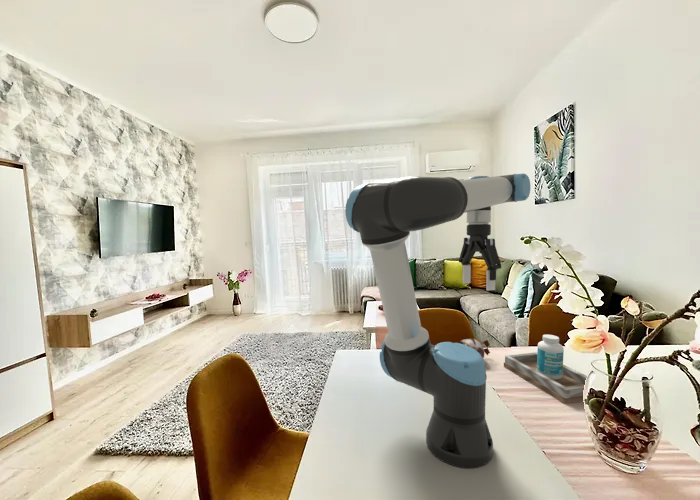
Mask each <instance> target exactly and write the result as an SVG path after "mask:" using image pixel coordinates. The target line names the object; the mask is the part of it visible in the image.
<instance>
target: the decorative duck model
mask: <svg viewBox="0 0 700 500" xmlns="http://www.w3.org/2000/svg"><path fill="white" fill-rule="evenodd" d="M459 343H460V344H463V345H466V346H469V347H471V348H473V349H474V350H476V351H477V352H479V353H480V354H481V356H482V357H483V359H484V358H485V355H487V356H489V354H490V353H491V352H490V350H489V347H490V345H491V343H489V341H488V339H486V340H484V341H482V342H480V341H479V340H477V338H476V339H475V338H465V339H461V340H459ZM483 345H484V346H485V347H486V348H484V346H483Z"/></svg>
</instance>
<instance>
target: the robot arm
mask: <svg viewBox="0 0 700 500" xmlns="http://www.w3.org/2000/svg"><path fill="white" fill-rule="evenodd" d="M530 194H531V179H530V177H529V176H528V175H527V174H526V173H513V174H506V175H499V176H497V175H496V176H488V175H476V176H471V177H468V178H467V179H463V178H461V179H458V178H455V177H451V176H445V177H444V176H443V177H441V176H435V177H432V176H404V177H398V178H392V179H385V180H377V181H376V180H375V181H369V182H366V183H363V184H360V185H357V186H356V187H355V188H354V189H352V191H351V192H350V194H349V197H348V198H347V200H346V203H345V210H344V213H345V219H346V221H347V225H348V226H349V228H351V229H352V230H353V231H354V232H357V233H359V235H360V240H361V244H362V245H363V246H365V247H366V248H368V249H369V251H370V255H371V259H372V265H373V269H374V273H375V279H376V281H377V286H378V290H379V291H378V292H379V296H380V301H381V305H382V306H381V307H382V310H383V313H384V319H385V323H386V328H387V333H386V334H385V336H384V340H383V342H382V343H381V346H380V350H381V351H379V363H380V366H381V368H382V371H384V373H385V374H386V375H387V376H388V377H390V378H392V379H393V380H395V381H396V382H399V383H403V384H404V385H406V386H409V387H410V388H411V387H412V388H414V389H416V390H419V391H421V392H423V393H426V394H428V395H430V396H432V397H433V411H432V413H431V416H430V419H429V422H428V425H427V427H426V433H425V441H426V442H425V443H426V445H427V449H429V451H430V452H431V454H433V455H434V456H435V457H436V458H438V459H439V460H441V461H442V462H445V463H447V464H448V465H452V466H453V467H459V468H464V467H465V468H466V469H467V468H468V469H470V468H469V467H474V468H479V467H478V466H480V467H482V465H483V466H485V465H486V464H488V463H489V462H490V461H491V460H492V459H493V456H494V455H493V454H494V442H493V438H492V435H491V433H490V430H489V429H490V428H489V425H488V423H487V420H486V397H487V395H486V393H487V391H486V390H487V387H486V386H487V378H488V377H487V370H486V368H487V367H486V361H485V359H484V358H483V357H482V356H481V354H480V353H479V352H477V351H476V350H474V349H473V348H471V347H469V346H466V345H463V344H462V343H461V342H452V341H443V342H442V341H441V342H439V343H436V344H435V345H434V344H432V343H431V339H430V335H429V331H428V330H427V329H426V328H425V327H423V326H422V323H421V318H420V313H419V308H418V303H417V298H416V297H417V296H416V292H415V288H414V283H413V278H412V272H411V266H410V262H409V257H408V251H407V246H406V240H407V239H408V238H409V237H410V235H411V232H417V231H421V230H426V229H429V228H433V227H435V226H439V225H443V224H445V223H449V222H453V221H455V220H458V219H460V218H461V217H462V216H463V215H464V213H466V223H467V225H466V235H467V236H469V237H463V245H462V248H461V252H460V254H459V258H458V263H460V264H461V266H462V284H471V277H472V275H471V274H472V272H471V270H472V267H471V266H472V265H471V261H472V260H473V258H474V255H475V254H476V252H478V253H479V254H481V257H482V259H483V260H484V262H485V265H486V266H487V267H486V275H485V276H486V277H485V278H486V279H485V281H486V285H485V288H486V289H485V290H486V291H487V292H490V291H496V281H497V270H499V269H502V263H501V261H500V257H499V253H498V250H497V247H496V241H495V238H489V237H488V236H491V235H492V233H491V232H492V231H491V230H492V228H491V227H492V226H491V224H489V223H492V206H496V205H500V204H505V203H517V202H522V201H526V200H528V198H529V197H530ZM460 343H461V344H460Z"/></svg>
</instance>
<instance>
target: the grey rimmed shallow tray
mask: <svg viewBox="0 0 700 500" xmlns="http://www.w3.org/2000/svg"><path fill="white" fill-rule="evenodd" d="M503 368H505V369H507V370H509V372H512V373H513V374H514V375H517V376H518V377H520V378H521V379H523V380H525V381H526V382H528V383H529V384H531V385H533V386H535V387H536V388H538V389H539V390H541V391H542V392H544V393H546V394H548V395H549V396H551V397H553V399H556V400H558V401H559V402H560V403H563V404H570V403H576V402H582V401H584V400H583V390H584V385H585V380H586V378H587V376H588V375H586V374H584V373H582V372H581V371H577V370H576V369H573V368H572V367H569V366H567V365H565V364H563V374H562V378H561V379H559V380H552V379H550V378H548V377H547V376H545V375H543V374H541V373H539V372H537V351H536V352H529V353H527V352H526V353H519V354H511V355H510V354H509V355H505V356H504V362H503Z"/></svg>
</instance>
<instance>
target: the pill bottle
mask: <svg viewBox="0 0 700 500" xmlns="http://www.w3.org/2000/svg"><path fill="white" fill-rule="evenodd" d="M536 352H537V372H539V373H541V374H543V375H545V376H547V377H548V378H550V379H552V380H559V379H561V378H562V374H563V365H564V346H563V345H562V343H561V344H560V337H559V336H557V335H553V334H543V335H542V340H541V341H539V342H538V343H537V351H536Z"/></svg>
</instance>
